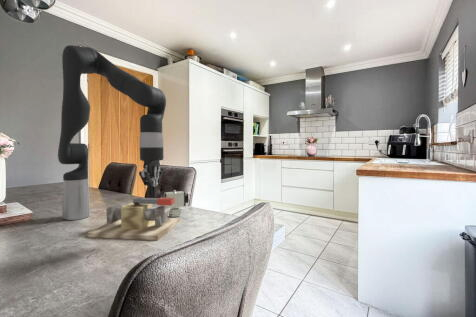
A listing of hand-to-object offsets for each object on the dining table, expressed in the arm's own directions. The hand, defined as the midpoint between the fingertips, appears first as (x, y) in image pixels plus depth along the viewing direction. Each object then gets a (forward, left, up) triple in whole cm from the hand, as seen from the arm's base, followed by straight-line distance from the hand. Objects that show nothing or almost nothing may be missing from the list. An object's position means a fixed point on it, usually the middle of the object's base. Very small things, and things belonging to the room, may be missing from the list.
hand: (152, 197), depth 81 cm
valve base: (-10, +8, -14) cm, 19 cm away
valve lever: (-4, +7, -4) cm, 9 cm away
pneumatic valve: (-3, +26, -14) cm, 30 cm away
